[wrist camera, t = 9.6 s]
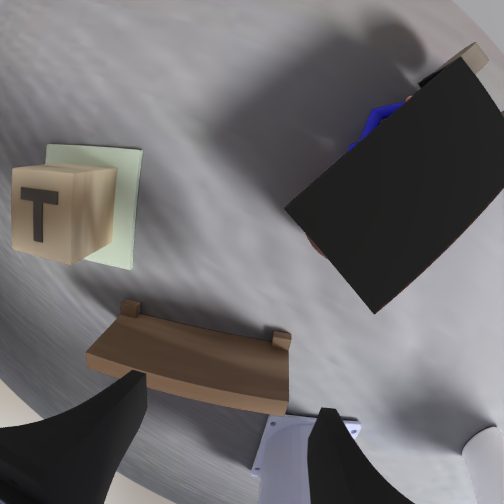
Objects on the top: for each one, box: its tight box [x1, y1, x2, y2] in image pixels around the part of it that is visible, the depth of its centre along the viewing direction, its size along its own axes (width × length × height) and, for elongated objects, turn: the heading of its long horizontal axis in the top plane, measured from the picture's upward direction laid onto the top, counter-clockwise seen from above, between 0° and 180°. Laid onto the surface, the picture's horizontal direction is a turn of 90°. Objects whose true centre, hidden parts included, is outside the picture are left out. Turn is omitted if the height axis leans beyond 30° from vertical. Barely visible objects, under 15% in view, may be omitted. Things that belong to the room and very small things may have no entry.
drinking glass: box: [462, 427, 504, 504], centre depth 17 cm, size 7×7×15 cm
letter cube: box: [11, 163, 118, 265], centre depth 17 cm, size 5×5×5 cm
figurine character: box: [284, 42, 504, 315], centre depth 15 cm, size 7×8×15 cm
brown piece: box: [86, 299, 291, 416], centre depth 19 cm, size 3×12×6 cm, turn 80°
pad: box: [45, 144, 143, 270], centre depth 20 cm, size 8×8×1 cm
